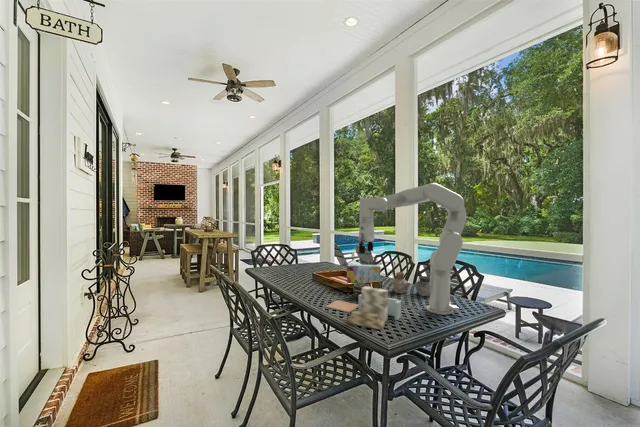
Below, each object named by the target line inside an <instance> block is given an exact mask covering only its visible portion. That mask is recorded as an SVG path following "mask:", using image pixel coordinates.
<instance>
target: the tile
mask: <svg viewBox="0 0 640 427" xmlns="http://www.w3.org/2000/svg"><path fill="white" fill-rule="evenodd" d="M325 308H327V309H331V310H335V309H336V310H335V311H339V310H340V312H345V313H349V314H350V313H352V312H353V310H356V309H358V304H357V303H352V302H348V301H343V300H335V301H333V302H331V303H329V304H327V305H326V306H325Z"/></svg>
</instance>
